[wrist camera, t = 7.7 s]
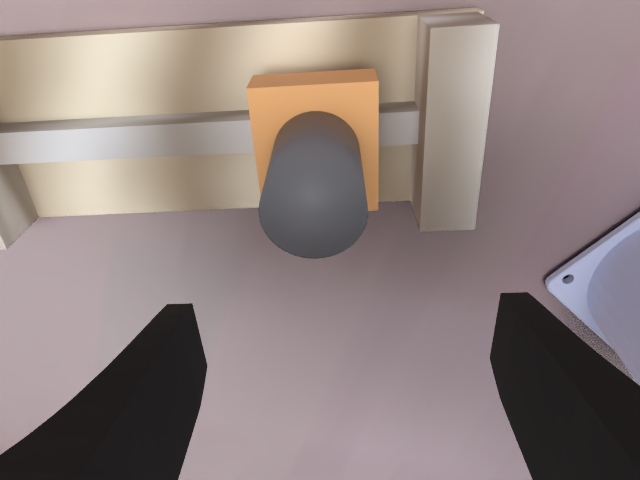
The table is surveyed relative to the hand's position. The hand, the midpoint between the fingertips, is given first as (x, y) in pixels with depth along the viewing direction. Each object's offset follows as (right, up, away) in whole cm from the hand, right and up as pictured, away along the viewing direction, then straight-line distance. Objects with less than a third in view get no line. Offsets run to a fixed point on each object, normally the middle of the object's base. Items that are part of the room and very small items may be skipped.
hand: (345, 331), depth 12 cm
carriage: (-1, +6, +7) cm, 9 cm away
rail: (-5, +7, +8) cm, 12 cm away
